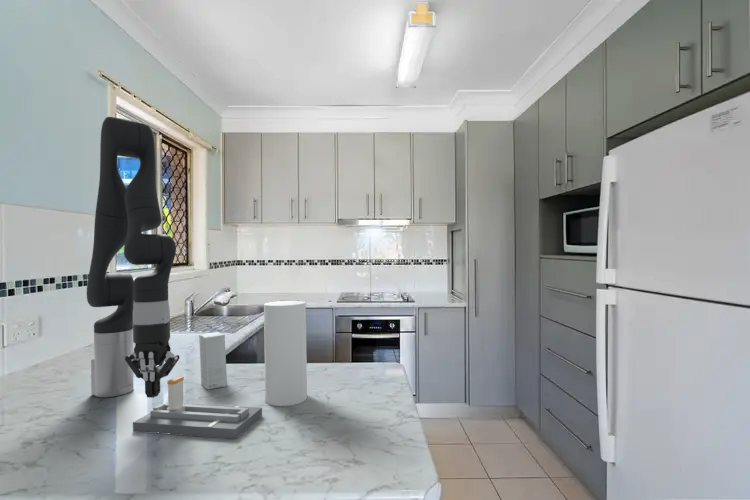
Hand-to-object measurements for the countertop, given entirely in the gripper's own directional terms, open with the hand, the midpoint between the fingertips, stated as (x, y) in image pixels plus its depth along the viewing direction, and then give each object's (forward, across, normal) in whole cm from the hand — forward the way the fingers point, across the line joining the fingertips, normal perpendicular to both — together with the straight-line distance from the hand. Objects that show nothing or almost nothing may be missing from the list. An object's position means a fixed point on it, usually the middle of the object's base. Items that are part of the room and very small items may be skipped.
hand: (152, 396), depth 95 cm
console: (+6, +12, 0) cm, 13 cm away
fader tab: (+3, +6, 0) cm, 7 cm away
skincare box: (+6, -1, +26) cm, 27 cm away
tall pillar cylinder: (+6, +25, +18) cm, 31 cm away
